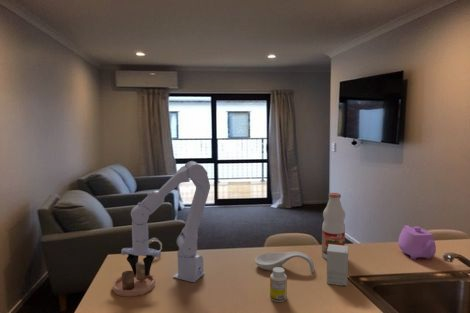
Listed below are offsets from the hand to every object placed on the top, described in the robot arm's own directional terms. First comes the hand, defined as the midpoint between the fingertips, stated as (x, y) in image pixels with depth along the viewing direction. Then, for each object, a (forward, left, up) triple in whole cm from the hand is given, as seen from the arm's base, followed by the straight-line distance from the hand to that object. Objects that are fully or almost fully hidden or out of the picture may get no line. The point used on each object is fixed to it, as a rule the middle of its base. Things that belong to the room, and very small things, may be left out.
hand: (141, 274), depth 125 cm
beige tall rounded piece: (0, 0, -1) cm, 1 cm away
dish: (+1, +3, -3) cm, 5 cm away
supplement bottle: (-49, -11, -4) cm, 50 cm away
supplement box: (-65, -32, -4) cm, 73 cm away
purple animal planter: (-93, -70, -4) cm, 117 cm away
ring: (+12, -22, -4) cm, 25 cm away
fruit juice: (-60, -53, -4) cm, 80 cm away
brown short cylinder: (+1, +6, -3) cm, 7 cm away
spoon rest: (-44, -34, -4) cm, 56 cm away
